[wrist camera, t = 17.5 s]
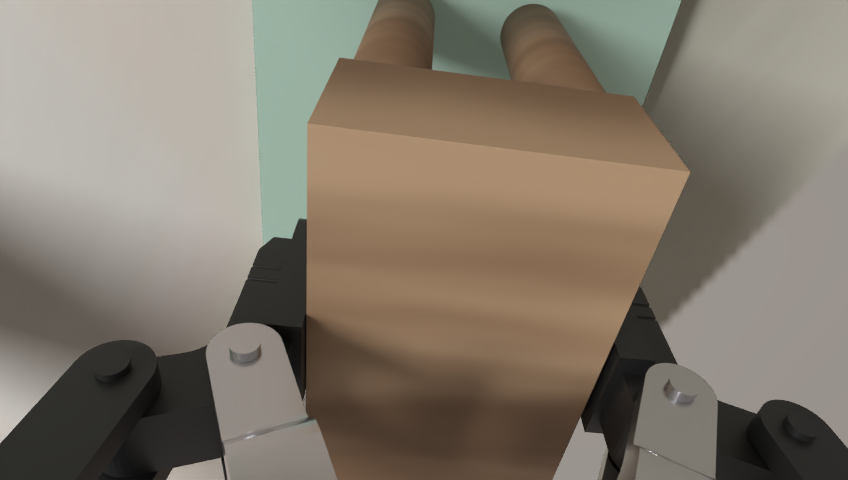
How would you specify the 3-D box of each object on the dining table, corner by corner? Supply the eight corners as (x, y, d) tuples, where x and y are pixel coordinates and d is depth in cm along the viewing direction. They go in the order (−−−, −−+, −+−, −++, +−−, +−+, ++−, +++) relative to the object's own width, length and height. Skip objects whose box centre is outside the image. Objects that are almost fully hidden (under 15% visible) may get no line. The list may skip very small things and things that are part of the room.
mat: (270, 243, 24) (263, 260, 23) (258, -113, 17) (246, -111, 16) (567, 275, 25) (573, 292, 24) (682, -50, 17) (697, -43, 16)
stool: (522, 545, 15) (690, 171, 8) (305, 525, 14) (307, 123, 8) (494, 292, 23) (568, 8, 16) (356, 277, 22) (376, -19, 16)
